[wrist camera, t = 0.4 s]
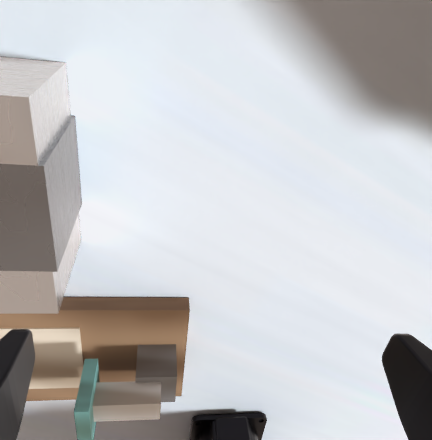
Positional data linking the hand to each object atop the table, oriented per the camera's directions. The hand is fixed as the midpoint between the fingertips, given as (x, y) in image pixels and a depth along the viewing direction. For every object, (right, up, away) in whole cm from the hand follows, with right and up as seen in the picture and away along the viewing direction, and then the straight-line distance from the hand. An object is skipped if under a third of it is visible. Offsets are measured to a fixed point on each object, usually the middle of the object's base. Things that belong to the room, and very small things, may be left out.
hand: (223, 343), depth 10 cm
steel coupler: (-9, +6, +11) cm, 16 cm away
